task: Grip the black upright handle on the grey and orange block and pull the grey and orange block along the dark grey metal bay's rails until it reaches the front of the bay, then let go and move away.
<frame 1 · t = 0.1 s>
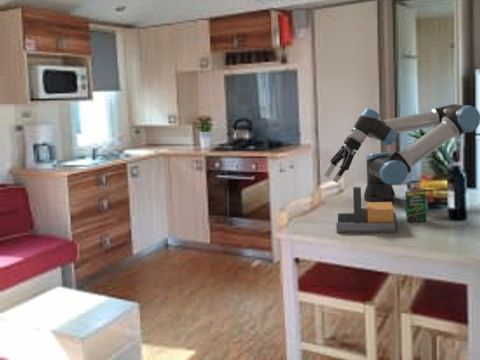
hand: (330, 178, 260), 15 cm above the table, fingers open, 13 cm apart
bay: (366, 227, 234), on the table
coffee box: (415, 221, 237), on the table
grey and orange block: (373, 206, 231), point 9 cm above the table, slide at 0.0 cm
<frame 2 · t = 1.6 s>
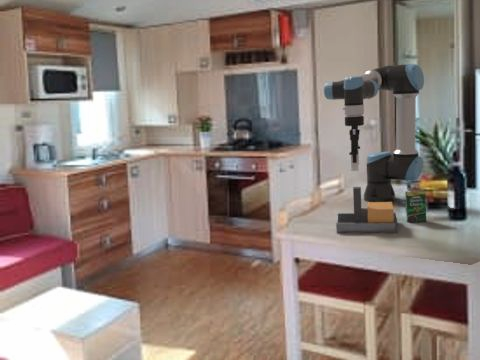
hand: (355, 167, 230), 25 cm above the table, fingers open, 13 cm apart
nothing on the table moved.
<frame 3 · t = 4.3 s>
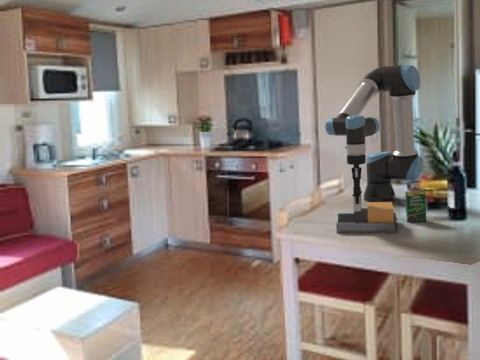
hand: (357, 209, 233), 8 cm above the table, fingers closed on grey and orange block, 3 cm apart
grey and orange block: (373, 206, 231), point 9 cm above the table, slide at 0.0 cm, touching gripper
everything else where it was.
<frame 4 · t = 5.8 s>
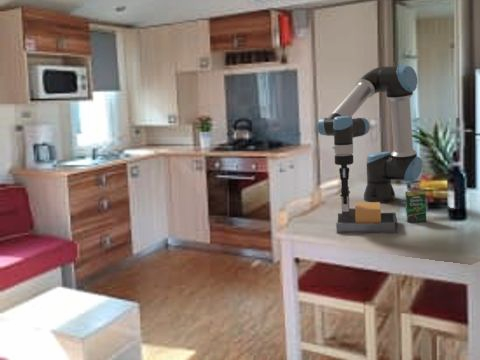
hand: (345, 209, 234), 8 cm above the table, fingers closed on grey and orange block, 3 cm apart
grey and orange block: (360, 206, 232), point 9 cm above the table, slide at 4.9 cm, touching gripper
everything else where it was.
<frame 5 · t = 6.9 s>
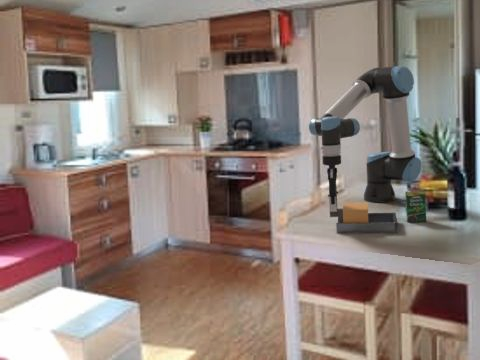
hand: (333, 210, 235), 8 cm above the table, fingers closed on grey and orange block, 3 cm apart
grey and orange block: (348, 206, 233), point 9 cm above the table, slide at 9.8 cm, touching gripper
everything else where it was.
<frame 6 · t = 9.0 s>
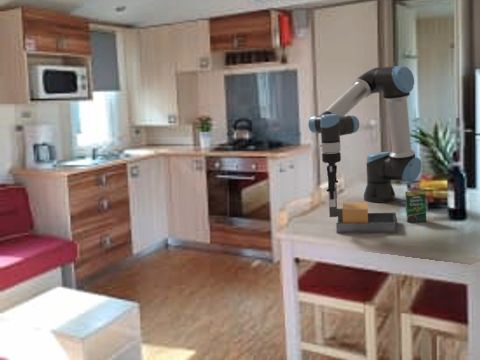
hand: (333, 202, 235), 11 cm above the table, fingers open, 13 cm apart
grey and orange block: (348, 206, 233), point 9 cm above the table, slide at 10.0 cm
everything else where it was.
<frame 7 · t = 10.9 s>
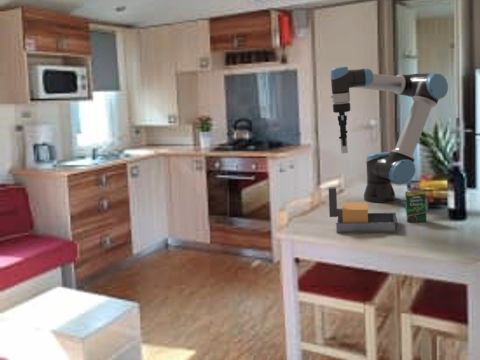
hand: (344, 150, 251), 29 cm above the table, fingers open, 13 cm apart
nothing on the table moved.
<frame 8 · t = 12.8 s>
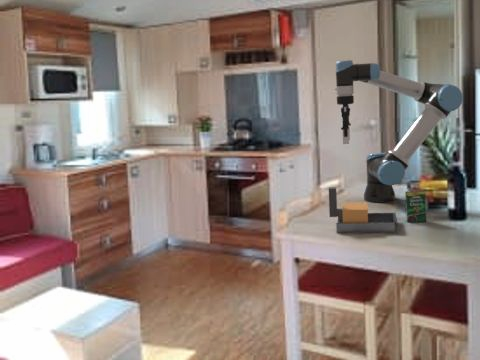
hand: (346, 141, 259), 32 cm above the table, fingers open, 13 cm apart
nothing on the table moved.
at the end: grey and orange block slide at 10.0 cm; the gripper is holding nothing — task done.
